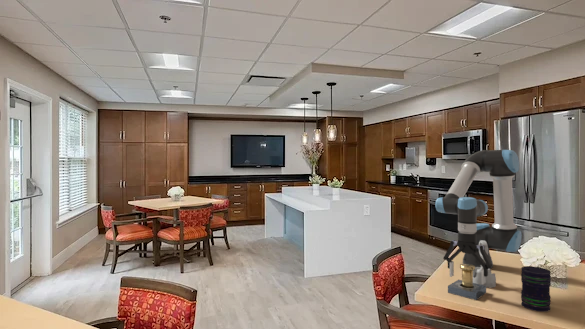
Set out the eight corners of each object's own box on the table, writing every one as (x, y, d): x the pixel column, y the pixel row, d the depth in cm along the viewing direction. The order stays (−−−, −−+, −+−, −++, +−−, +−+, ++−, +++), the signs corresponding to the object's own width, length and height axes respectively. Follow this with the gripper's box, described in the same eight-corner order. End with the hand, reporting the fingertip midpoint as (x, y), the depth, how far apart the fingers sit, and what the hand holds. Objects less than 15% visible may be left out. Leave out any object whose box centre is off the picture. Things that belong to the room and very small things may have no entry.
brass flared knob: (457, 292, 159) (457, 265, 159) (463, 289, 163) (463, 263, 163) (471, 296, 154) (471, 268, 154) (476, 292, 159) (476, 265, 159)
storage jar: (543, 302, 147) (544, 267, 147) (555, 312, 138) (555, 274, 137) (517, 300, 149) (517, 265, 149) (526, 310, 140) (526, 272, 140)
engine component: (475, 286, 166) (499, 288, 164) (475, 243, 166) (499, 244, 164) (469, 279, 177) (491, 280, 175) (469, 238, 177) (491, 238, 175)
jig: (458, 285, 167) (458, 279, 167) (486, 292, 159) (486, 286, 159) (447, 292, 159) (447, 285, 159) (476, 300, 150) (476, 293, 150)
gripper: (435, 229, 165) (435, 275, 165) (495, 237, 147) (495, 288, 147) (442, 227, 170) (442, 271, 170) (501, 235, 152) (500, 284, 152)
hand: (467, 279), depth 159 cm, fingers open, 13 cm apart
